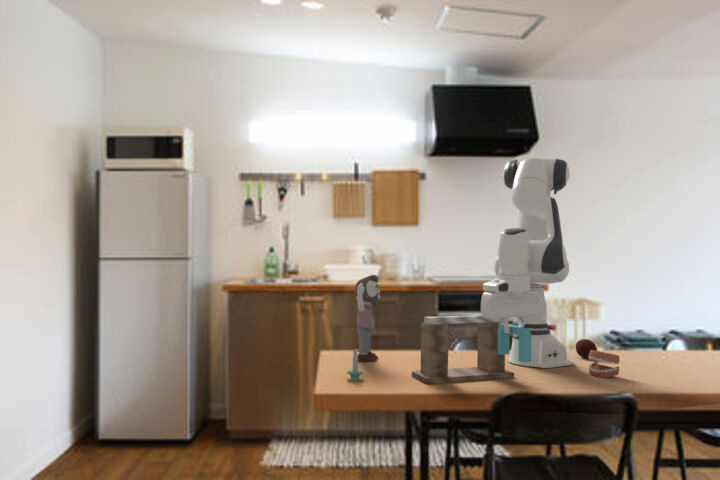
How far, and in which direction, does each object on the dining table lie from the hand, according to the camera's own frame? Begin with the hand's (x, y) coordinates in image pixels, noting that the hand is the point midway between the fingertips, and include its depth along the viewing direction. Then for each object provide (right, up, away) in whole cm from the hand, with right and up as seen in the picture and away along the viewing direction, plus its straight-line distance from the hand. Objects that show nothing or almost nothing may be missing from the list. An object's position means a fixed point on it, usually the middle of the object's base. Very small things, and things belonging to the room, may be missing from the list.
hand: (513, 332), depth 148 cm
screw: (-46, -15, +4) cm, 48 cm away
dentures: (+32, -17, +15) cm, 39 cm away
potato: (+40, -18, +43) cm, 61 cm away
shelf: (-13, -15, +10) cm, 22 cm away
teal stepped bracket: (0, -7, 0) cm, 7 cm away
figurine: (-43, -16, +31) cm, 55 cm away
